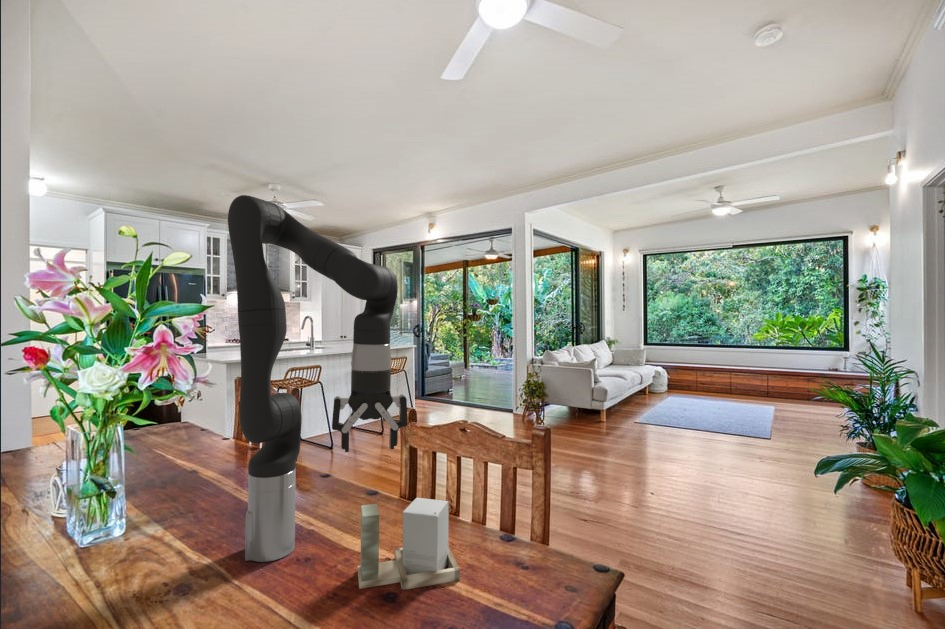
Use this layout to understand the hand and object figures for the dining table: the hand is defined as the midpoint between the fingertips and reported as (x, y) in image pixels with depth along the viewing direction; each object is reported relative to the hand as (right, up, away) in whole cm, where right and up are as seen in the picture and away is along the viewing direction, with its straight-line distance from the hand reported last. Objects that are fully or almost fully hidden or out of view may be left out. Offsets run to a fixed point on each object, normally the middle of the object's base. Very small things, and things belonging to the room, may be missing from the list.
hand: (369, 449), depth 86 cm
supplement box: (+11, -25, +2) cm, 27 cm away
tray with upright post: (+7, -24, +1) cm, 25 cm away
